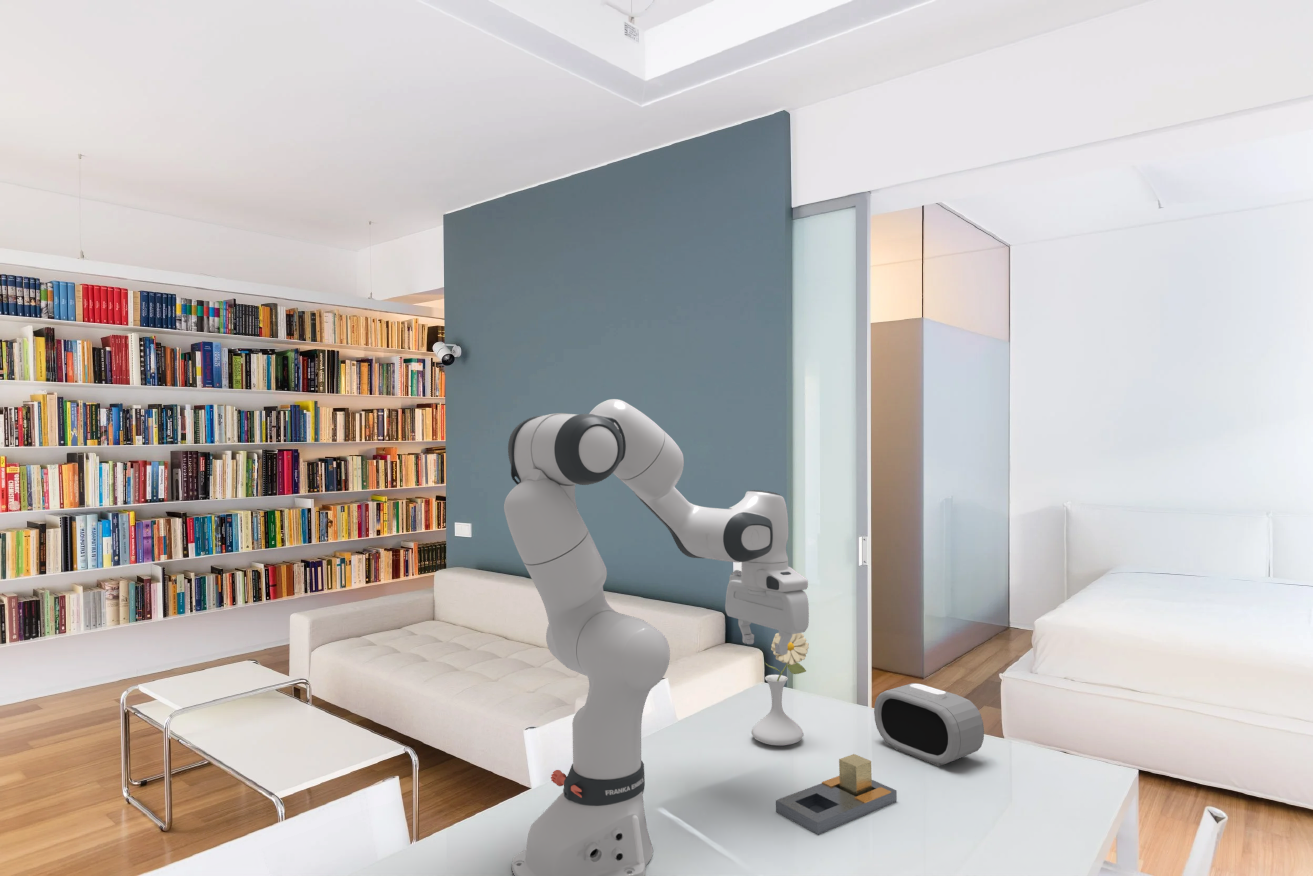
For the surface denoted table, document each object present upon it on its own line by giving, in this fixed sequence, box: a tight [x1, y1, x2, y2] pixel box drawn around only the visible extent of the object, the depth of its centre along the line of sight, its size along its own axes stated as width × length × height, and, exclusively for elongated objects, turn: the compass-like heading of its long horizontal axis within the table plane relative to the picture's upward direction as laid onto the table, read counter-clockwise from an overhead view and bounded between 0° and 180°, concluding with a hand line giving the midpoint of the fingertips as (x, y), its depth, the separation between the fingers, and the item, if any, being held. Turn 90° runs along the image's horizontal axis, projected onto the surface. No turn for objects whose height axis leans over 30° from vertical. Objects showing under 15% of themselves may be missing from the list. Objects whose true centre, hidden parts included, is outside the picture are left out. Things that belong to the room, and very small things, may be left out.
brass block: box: [838, 753, 873, 797], centre depth 140 cm, size 4×4×7 cm
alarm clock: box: [873, 682, 985, 767], centre depth 163 cm, size 21×10×13 cm, turn 33°
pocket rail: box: [775, 775, 898, 836], centre depth 137 cm, size 20×10×3 cm, turn 124°
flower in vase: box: [751, 632, 810, 746], centre depth 171 cm, size 13×11×25 cm
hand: (764, 648), depth 147 cm, fingers open, 8 cm apart
